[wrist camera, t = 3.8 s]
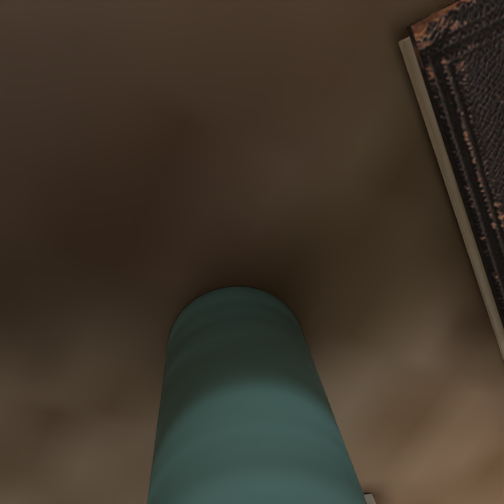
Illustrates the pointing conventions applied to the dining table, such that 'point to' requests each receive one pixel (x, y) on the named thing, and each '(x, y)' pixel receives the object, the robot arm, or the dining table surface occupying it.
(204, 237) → the dining table surface
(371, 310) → the dining table surface
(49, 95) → the dining table surface
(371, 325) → the dining table surface
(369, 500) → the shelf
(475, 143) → the hardcover book
